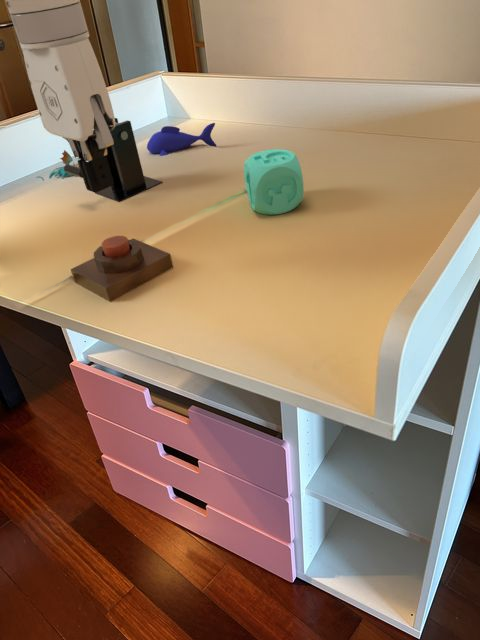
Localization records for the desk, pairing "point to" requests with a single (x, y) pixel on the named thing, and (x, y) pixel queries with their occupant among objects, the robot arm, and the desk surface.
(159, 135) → the fish toy
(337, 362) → the desk surface
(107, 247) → the button
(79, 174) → the switch lever
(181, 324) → the desk surface
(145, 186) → the switch bracket
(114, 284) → the button block
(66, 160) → the dragon figurine
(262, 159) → the decorative dice
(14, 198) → the desk surface
